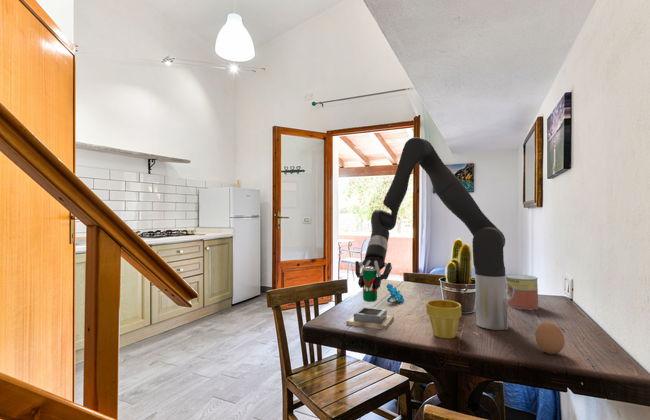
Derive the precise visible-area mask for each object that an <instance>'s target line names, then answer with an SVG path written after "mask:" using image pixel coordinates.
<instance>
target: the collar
mask: <svg viewBox="0 0 650 420" xmlns="http://www.w3.org/2000/svg"><path fill="white" fill-rule="evenodd" d="M353 315H354V321H360V322H368V323H376V324H381V322H382V321H383V320H384V319H385V318H386V317H387V315H388V311H387V309H386V308H377V307H366V306H360V308H358V309H357V310H356V311H355V312H354V313H353Z"/></svg>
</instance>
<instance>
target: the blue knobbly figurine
mask: <svg viewBox="0 0 650 420" xmlns="http://www.w3.org/2000/svg"><path fill="white" fill-rule="evenodd" d="M386 288H387V289H386V290H387V291H388V292H389V295H390V296H389V297H388V298H387V299H386V301H388V302H389V301H391V300H397V302H399V303H404V302H405V298H404V296H403V294H401V290H400V289H398V290H397V287H395V286H394V285H393V284H391V283H387V285H386Z"/></svg>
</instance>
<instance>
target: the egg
mask: <svg viewBox="0 0 650 420" xmlns="http://www.w3.org/2000/svg"><path fill="white" fill-rule="evenodd" d="M535 342H536V345H537V346H538V347H539V349H541V350H542V351H543V352H545V353H546V354H549V355H556V354H559V353H560V352H561V351H562V350H563V349H564V347H565V342H566V341H565V337H564V334H563V332H562V330H561V329H560V327H559V326H558V325H556V324H555V323H554V322H551V321H545V322H542V323H541V324H539V326H538V327H537V329H536V330H535Z"/></svg>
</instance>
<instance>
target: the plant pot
mask: <svg viewBox="0 0 650 420" xmlns="http://www.w3.org/2000/svg"><path fill="white" fill-rule="evenodd" d="M425 303H426V305H425V306H426V314H427V315H428V316H429V321H430V324H431V328H432V333H433V335H434V336H435V337H437V338H440V339H453V338H455V337H456V336H457V332H458V327H459V321H460V318H461V317H462V313H463V312H462V304H461V303H460V302H457V301H454V300H450V299H448V300H447V299H433V300H428V301H427V302H425Z"/></svg>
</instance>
